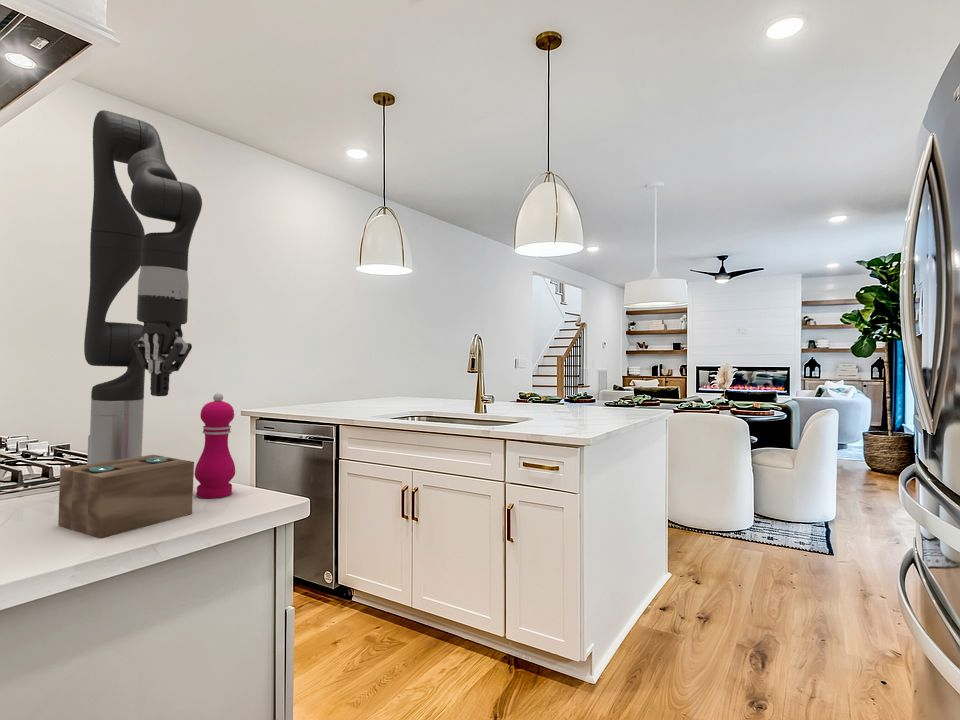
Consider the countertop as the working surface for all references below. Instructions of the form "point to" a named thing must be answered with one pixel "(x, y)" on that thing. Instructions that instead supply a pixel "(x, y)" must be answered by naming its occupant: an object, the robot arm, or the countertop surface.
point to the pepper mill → (215, 450)
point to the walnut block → (124, 495)
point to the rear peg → (156, 460)
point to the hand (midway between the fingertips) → (159, 395)
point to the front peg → (101, 469)
